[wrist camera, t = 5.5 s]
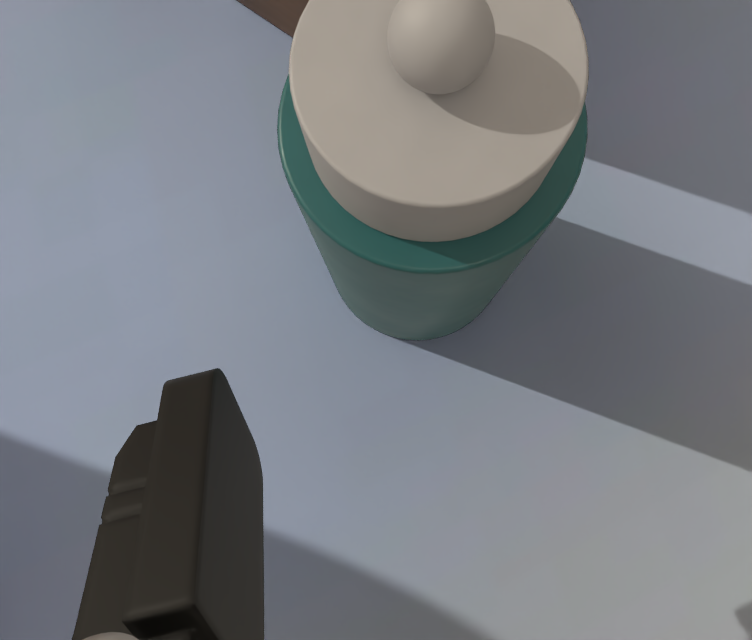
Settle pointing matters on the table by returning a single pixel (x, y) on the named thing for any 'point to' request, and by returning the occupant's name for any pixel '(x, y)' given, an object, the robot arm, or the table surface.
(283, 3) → the shelf
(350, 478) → the table surface
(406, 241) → the pepper mill
